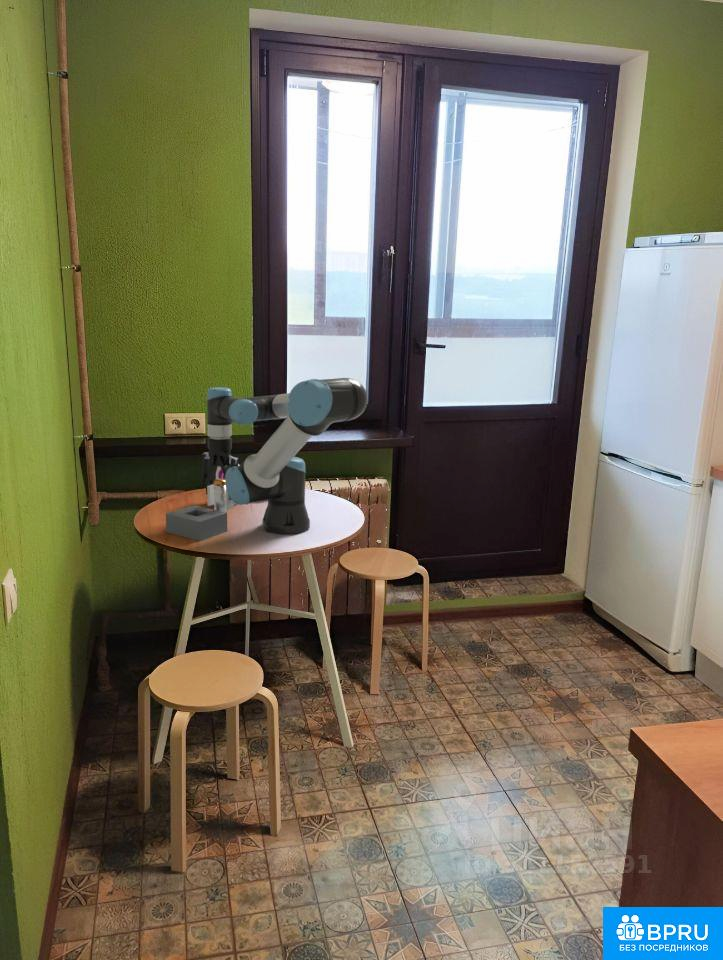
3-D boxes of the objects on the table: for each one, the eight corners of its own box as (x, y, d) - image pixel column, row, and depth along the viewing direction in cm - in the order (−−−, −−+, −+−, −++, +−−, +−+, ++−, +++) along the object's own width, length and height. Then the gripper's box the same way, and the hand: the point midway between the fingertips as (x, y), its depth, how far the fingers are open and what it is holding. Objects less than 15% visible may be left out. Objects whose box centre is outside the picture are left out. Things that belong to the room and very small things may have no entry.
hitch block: (227, 531, 230) (227, 512, 229) (200, 541, 220) (200, 521, 218) (193, 522, 237) (193, 505, 235) (166, 532, 227) (165, 513, 225)
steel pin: (229, 521, 240) (229, 479, 236) (221, 524, 236) (220, 482, 233) (220, 519, 242) (219, 478, 238) (211, 522, 238) (211, 480, 235)
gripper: (252, 439, 230) (252, 509, 236) (204, 431, 240) (205, 499, 246) (236, 442, 224) (236, 515, 230) (187, 434, 234) (189, 504, 240)
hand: (220, 506), depth 238 cm, fingers open, 7 cm apart
